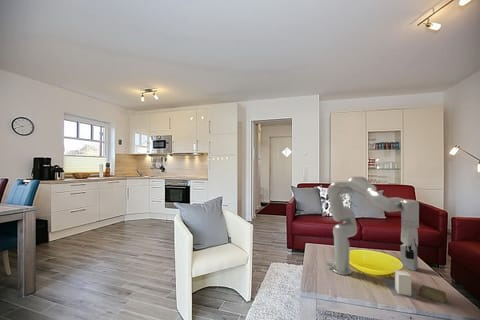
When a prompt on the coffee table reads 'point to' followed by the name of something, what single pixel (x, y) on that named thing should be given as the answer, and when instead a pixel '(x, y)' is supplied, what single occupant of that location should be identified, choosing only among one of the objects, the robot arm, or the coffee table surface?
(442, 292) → the stone block
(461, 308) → the coffee table surface
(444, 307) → the coffee table surface
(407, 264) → the skincare box
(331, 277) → the coffee table surface
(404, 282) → the cream rectangular block
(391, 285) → the rubber mat
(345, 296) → the coffee table surface
